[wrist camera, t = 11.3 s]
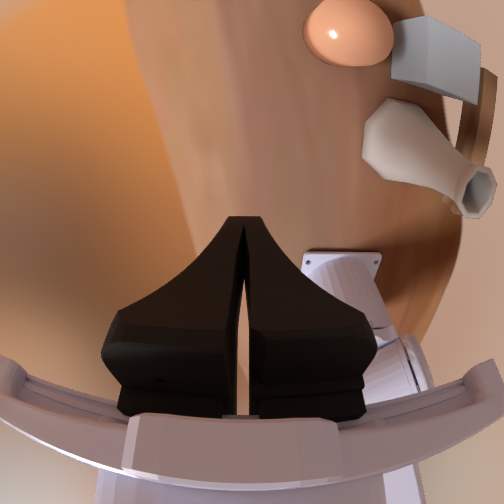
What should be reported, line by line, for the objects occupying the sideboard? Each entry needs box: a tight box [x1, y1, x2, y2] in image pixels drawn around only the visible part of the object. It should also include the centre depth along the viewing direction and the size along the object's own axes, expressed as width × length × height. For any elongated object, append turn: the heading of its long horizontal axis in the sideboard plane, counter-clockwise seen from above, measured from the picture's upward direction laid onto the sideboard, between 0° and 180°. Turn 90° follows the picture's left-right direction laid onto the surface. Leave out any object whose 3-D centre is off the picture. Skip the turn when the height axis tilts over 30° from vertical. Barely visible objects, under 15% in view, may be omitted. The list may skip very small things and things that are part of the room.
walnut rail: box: [441, 67, 497, 215], centre depth 16 cm, size 14×2×2 cm, turn 179°
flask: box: [362, 98, 497, 219], centre depth 14 cm, size 7×7×10 cm
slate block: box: [391, 15, 481, 105], centre depth 12 cm, size 5×5×5 cm
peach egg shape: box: [302, 0, 394, 67], centre depth 12 cm, size 5×5×4 cm
